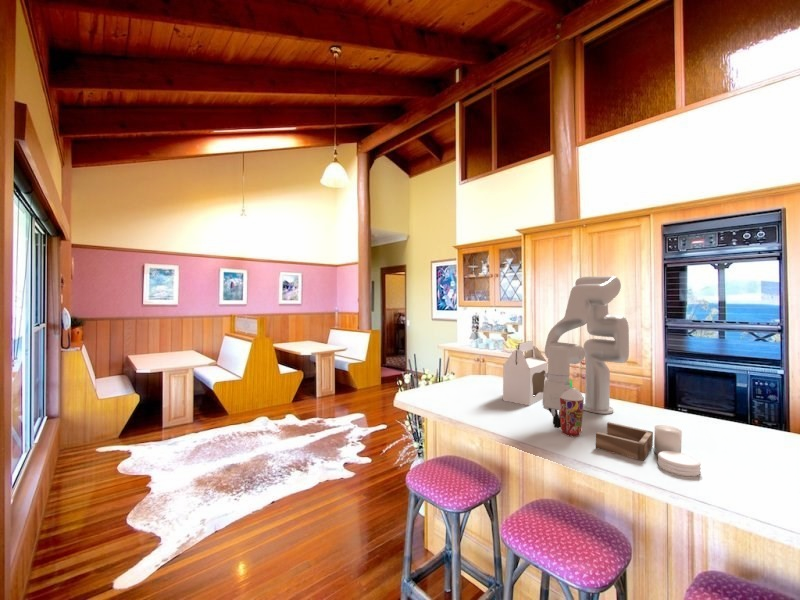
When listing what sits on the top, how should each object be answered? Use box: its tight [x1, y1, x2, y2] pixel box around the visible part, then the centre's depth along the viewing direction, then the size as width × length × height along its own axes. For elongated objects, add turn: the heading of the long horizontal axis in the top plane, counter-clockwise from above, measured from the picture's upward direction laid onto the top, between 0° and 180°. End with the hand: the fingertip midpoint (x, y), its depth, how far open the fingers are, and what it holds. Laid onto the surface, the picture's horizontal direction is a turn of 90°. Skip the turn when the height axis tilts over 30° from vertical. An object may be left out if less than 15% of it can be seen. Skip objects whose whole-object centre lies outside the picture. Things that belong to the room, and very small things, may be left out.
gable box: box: [502, 340, 548, 406], centre depth 181 cm, size 22×13×28 cm, turn 138°
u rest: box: [595, 421, 654, 462], centre depth 123 cm, size 15×14×5 cm
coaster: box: [657, 451, 701, 477], centre depth 108 cm, size 10×10×4 cm
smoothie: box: [560, 379, 585, 438], centre depth 134 cm, size 8×8×20 cm
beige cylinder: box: [653, 424, 683, 455], centre depth 118 cm, size 7×7×8 cm
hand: (557, 426), depth 138 cm, fingers closed
